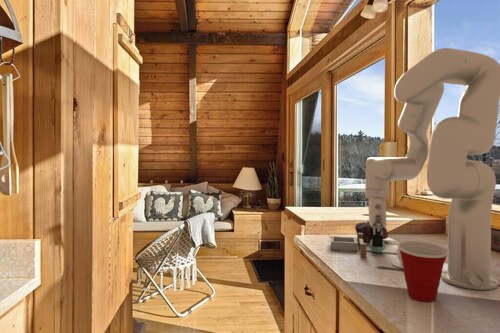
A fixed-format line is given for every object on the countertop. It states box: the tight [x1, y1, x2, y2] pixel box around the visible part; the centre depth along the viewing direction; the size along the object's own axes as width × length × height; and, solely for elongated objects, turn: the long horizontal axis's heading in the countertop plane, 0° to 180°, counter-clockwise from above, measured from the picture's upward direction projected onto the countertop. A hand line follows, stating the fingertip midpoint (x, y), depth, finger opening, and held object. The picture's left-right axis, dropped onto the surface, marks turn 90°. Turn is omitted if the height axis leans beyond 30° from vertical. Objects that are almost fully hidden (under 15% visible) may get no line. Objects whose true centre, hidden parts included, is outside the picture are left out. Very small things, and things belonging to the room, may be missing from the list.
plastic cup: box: [397, 240, 449, 303], centre depth 82 cm, size 11×11×12 cm
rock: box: [354, 220, 389, 243], centre depth 137 cm, size 12×9×10 cm
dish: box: [330, 235, 359, 253], centre depth 128 cm, size 9×9×3 cm
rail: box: [357, 233, 367, 259], centre depth 124 cm, size 18×2×4 cm, turn 166°
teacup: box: [391, 247, 403, 269], centre depth 107 cm, size 10×10×5 cm
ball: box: [369, 240, 386, 254], centre depth 122 cm, size 5×5×5 cm
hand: (375, 242), depth 122 cm, fingers open, 9 cm apart
